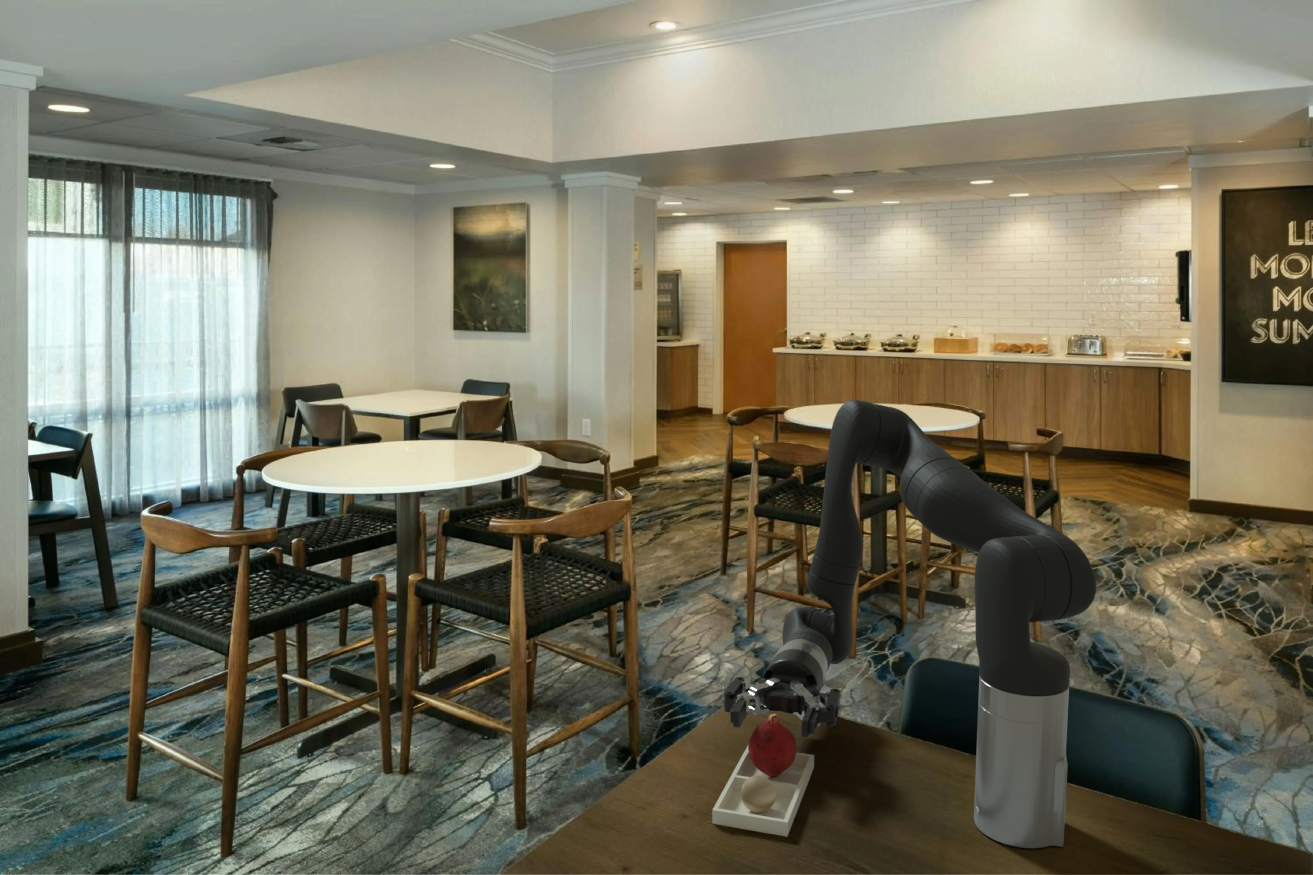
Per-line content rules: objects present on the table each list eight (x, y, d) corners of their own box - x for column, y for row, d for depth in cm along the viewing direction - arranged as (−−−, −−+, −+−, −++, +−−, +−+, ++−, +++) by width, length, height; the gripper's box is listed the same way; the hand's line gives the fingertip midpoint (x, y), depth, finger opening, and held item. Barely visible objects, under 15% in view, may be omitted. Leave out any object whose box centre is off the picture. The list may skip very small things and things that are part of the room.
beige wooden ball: (779, 804, 111) (779, 771, 110) (771, 822, 107) (771, 788, 106) (745, 798, 112) (745, 766, 111) (737, 816, 108) (736, 783, 108)
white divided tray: (813, 772, 120) (814, 754, 119) (787, 842, 104) (787, 822, 104) (747, 762, 122) (747, 745, 122) (712, 829, 107) (712, 809, 107)
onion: (780, 793, 113) (780, 729, 112) (739, 779, 116) (739, 717, 115) (804, 773, 118) (804, 712, 116) (764, 760, 121) (764, 701, 120)
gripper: (745, 642, 131) (712, 687, 116) (850, 653, 126) (830, 702, 111) (745, 694, 132) (712, 745, 117) (849, 707, 127) (829, 763, 112)
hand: (770, 724), depth 114 cm, fingers open, 8 cm apart
